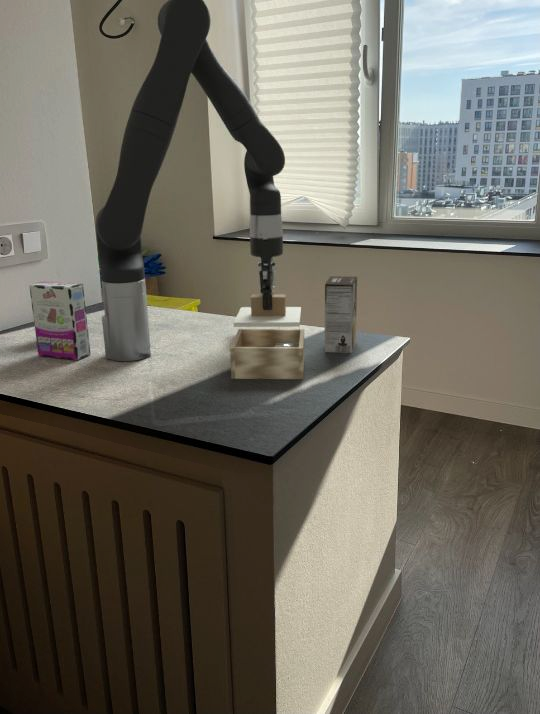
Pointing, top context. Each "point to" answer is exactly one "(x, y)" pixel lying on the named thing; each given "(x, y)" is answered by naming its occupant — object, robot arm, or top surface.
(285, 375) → the birch box
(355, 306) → the coffee box
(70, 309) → the candy bar box
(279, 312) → the lid
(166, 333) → the top surface
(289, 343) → the silver metal ball
